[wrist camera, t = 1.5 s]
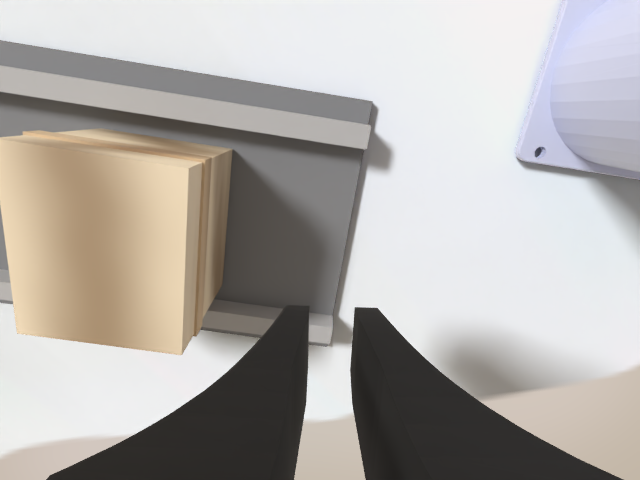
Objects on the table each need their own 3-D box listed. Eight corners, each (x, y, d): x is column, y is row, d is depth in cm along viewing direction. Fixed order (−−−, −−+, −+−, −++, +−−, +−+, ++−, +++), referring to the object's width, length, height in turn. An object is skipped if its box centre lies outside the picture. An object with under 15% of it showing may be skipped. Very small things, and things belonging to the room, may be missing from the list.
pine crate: (234, 147, 17) (192, 165, 12) (224, 286, 20) (184, 357, 14) (98, 125, 17) (-13, 134, 11) (104, 269, 19) (14, 335, 14)
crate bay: (371, 101, 17) (376, 100, 16) (326, 342, 21) (326, 360, 20) (-179, 11, 16) (-231, 1, 15) (-112, 283, 20) (-146, 296, 19)
